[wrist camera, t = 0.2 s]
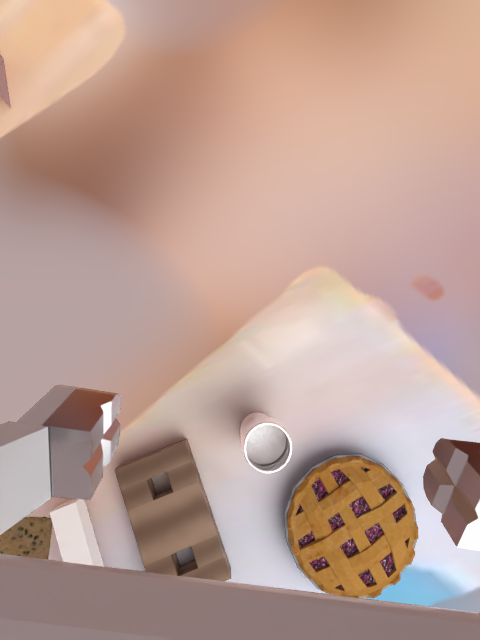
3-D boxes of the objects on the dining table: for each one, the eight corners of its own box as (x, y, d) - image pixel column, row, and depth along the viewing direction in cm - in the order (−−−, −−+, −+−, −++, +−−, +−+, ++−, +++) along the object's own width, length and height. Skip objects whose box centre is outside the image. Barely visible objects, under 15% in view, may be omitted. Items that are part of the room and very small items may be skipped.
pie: (332, 616, 57) (342, 639, 52) (256, 500, 59) (260, 512, 54) (431, 533, 60) (450, 547, 55) (356, 425, 62) (367, 430, 57)
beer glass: (284, 433, 61) (304, 452, 46) (253, 459, 60) (263, 486, 45) (260, 401, 62) (271, 409, 47) (229, 426, 61) (231, 442, 46)
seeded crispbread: (46, 596, 56) (43, 600, 55) (-32, 595, 55) (-36, 599, 54) (55, 516, 58) (52, 518, 57) (-20, 514, 57) (-24, 517, 56)
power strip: (121, 600, 56) (109, 628, 50) (97, 611, 55) (82, 640, 49) (89, 490, 58) (73, 503, 52) (65, 499, 58) (47, 514, 52)
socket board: (230, 567, 57) (231, 578, 54) (161, 598, 56) (157, 610, 53) (186, 438, 60) (185, 442, 57) (120, 465, 59) (114, 469, 56)
